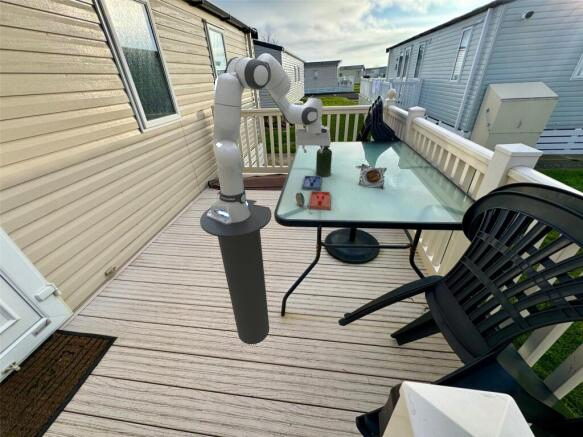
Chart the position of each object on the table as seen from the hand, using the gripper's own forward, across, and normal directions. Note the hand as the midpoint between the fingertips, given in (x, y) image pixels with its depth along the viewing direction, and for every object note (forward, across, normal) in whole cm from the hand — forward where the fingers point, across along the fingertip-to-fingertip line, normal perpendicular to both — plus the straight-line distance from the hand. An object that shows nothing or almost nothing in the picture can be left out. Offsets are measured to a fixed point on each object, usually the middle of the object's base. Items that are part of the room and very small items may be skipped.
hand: (313, 152), depth 147 cm
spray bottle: (+21, +7, +20) cm, 30 cm away
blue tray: (+21, 0, +2) cm, 21 cm away
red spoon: (+21, +6, -23) cm, 32 cm away
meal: (+21, +37, +2) cm, 43 cm away
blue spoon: (+21, 0, +1) cm, 21 cm away
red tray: (+21, +6, -22) cm, 31 cm away
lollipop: (+18, -3, -31) cm, 36 cm away
